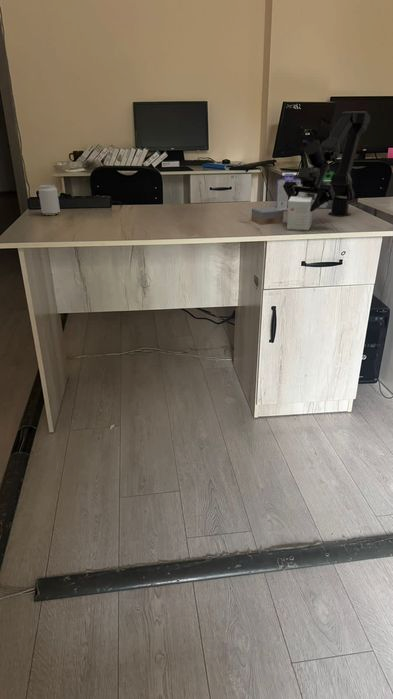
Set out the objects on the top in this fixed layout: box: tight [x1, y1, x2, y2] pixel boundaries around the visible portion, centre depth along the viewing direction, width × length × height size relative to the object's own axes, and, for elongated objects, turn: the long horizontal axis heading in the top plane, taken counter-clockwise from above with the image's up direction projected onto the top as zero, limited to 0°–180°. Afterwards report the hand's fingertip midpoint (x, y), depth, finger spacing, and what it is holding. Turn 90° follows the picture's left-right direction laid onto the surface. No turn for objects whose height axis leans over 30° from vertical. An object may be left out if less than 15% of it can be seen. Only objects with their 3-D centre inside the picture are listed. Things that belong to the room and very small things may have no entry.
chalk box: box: [314, 171, 335, 209], centre depth 220 cm, size 9×9×15 cm
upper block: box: [251, 206, 285, 219], centre depth 195 cm, size 9×9×2 cm
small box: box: [286, 196, 313, 231], centre depth 182 cm, size 8×6×10 cm
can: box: [38, 184, 61, 214], centre depth 213 cm, size 8×8×12 cm
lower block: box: [250, 214, 284, 226], centre depth 197 cm, size 9×9×2 cm
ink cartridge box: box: [275, 173, 302, 211], centre depth 216 cm, size 10×6×14 cm, turn 87°
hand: (299, 209), depth 181 cm, fingers closed on small box, 9 cm apart
